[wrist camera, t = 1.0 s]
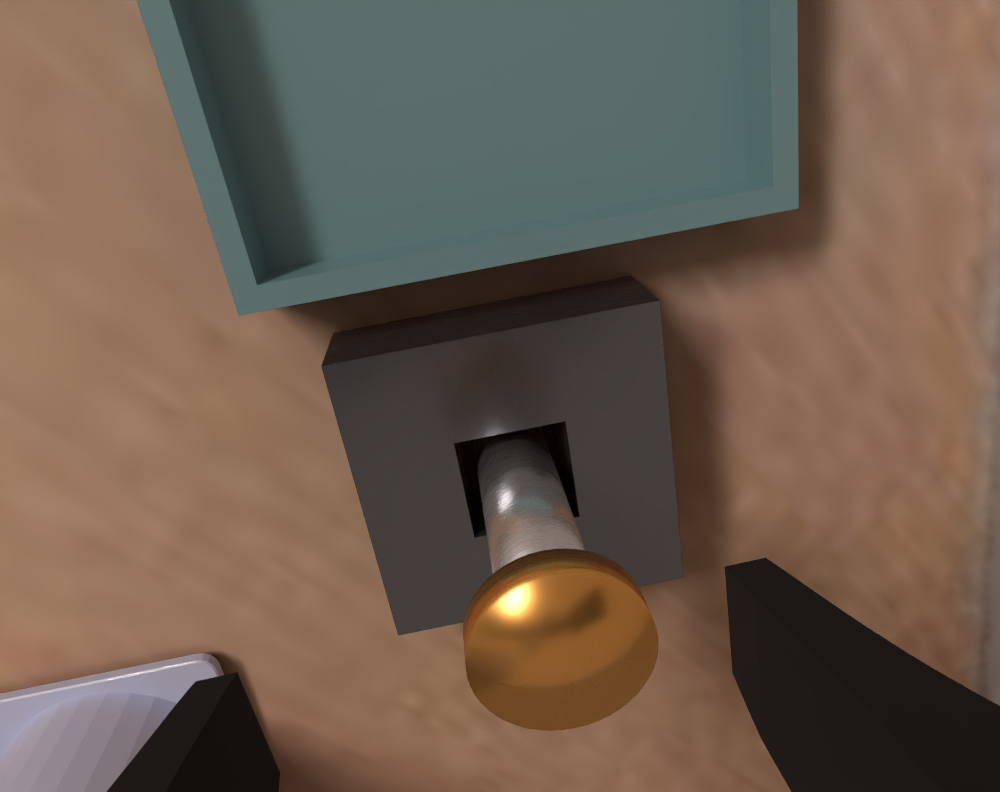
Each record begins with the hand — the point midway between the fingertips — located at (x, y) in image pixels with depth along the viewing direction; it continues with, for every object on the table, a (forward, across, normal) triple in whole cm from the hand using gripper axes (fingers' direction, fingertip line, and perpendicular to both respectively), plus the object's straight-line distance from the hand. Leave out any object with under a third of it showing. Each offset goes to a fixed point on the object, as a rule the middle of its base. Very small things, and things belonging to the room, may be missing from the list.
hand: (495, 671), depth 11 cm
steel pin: (+10, -1, +2) cm, 11 cm away
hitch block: (+10, -1, +2) cm, 11 cm away
